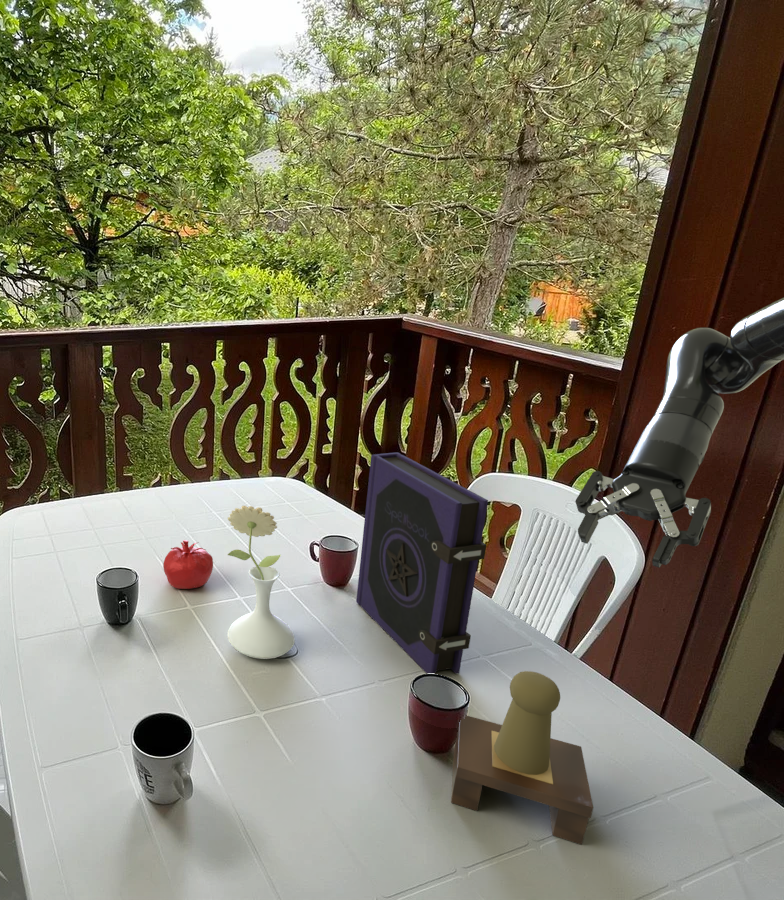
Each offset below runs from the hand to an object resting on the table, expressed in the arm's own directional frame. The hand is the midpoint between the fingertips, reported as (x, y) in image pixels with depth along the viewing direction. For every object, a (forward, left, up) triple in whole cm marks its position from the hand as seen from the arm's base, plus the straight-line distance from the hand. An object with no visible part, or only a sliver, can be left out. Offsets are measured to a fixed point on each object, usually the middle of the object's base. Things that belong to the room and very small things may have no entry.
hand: (618, 552), depth 85 cm
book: (+25, -10, -27) cm, 38 cm away
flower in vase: (+48, +3, -27) cm, 55 cm away
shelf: (+9, +20, -27) cm, 34 cm away
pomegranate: (+67, -11, -27) cm, 73 cm away
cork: (+9, +20, -21) cm, 30 cm away
